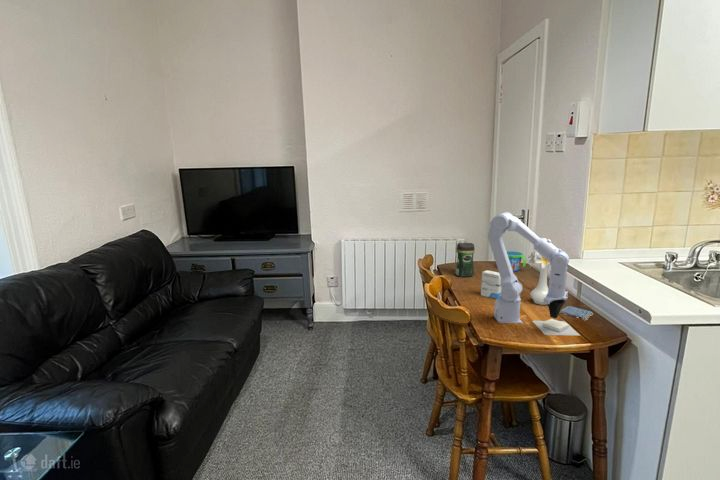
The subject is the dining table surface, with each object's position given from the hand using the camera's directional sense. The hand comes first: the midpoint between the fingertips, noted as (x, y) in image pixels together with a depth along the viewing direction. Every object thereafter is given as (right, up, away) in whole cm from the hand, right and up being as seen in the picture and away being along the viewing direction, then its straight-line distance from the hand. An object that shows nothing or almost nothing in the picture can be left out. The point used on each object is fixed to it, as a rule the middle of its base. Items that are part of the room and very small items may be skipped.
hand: (553, 317), depth 154 cm
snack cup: (+14, +12, +80) cm, 82 cm away
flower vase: (+8, +1, +30) cm, 31 cm away
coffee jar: (-16, +10, +70) cm, 72 cm away
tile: (-1, -4, 0) cm, 4 cm away
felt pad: (+1, -5, +1) cm, 5 cm away
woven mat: (+17, -2, +16) cm, 23 cm away
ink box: (-12, +3, +37) cm, 39 cm away
